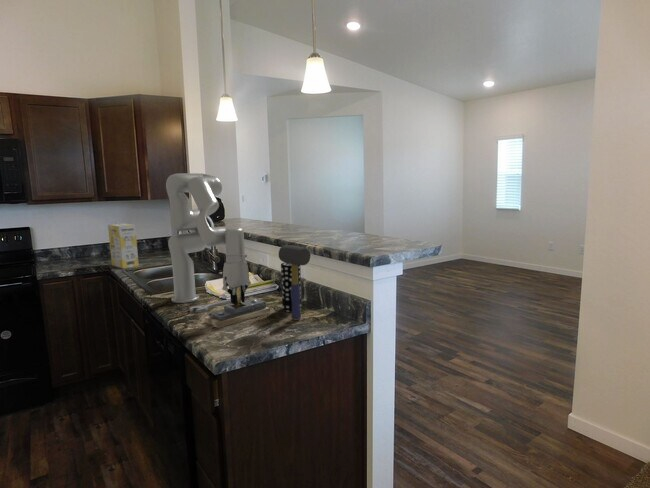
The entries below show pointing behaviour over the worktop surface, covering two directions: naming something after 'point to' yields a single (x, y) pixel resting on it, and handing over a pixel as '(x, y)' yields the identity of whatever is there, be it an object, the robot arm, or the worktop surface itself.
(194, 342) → the worktop surface
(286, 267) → the spotted tube
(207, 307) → the adjustable wrench
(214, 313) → the pegged base plate
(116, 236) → the pasta box
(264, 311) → the oak jig
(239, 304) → the brass pin
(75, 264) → the worktop surface
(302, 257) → the rubber mallet
